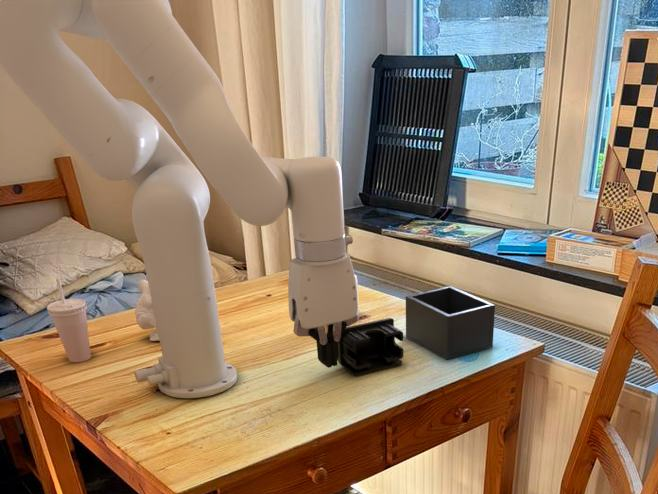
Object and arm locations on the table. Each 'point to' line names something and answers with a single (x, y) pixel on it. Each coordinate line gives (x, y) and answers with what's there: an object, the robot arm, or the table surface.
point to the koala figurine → (146, 311)
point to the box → (450, 322)
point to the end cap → (370, 347)
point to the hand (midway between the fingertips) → (328, 363)
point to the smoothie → (71, 326)
